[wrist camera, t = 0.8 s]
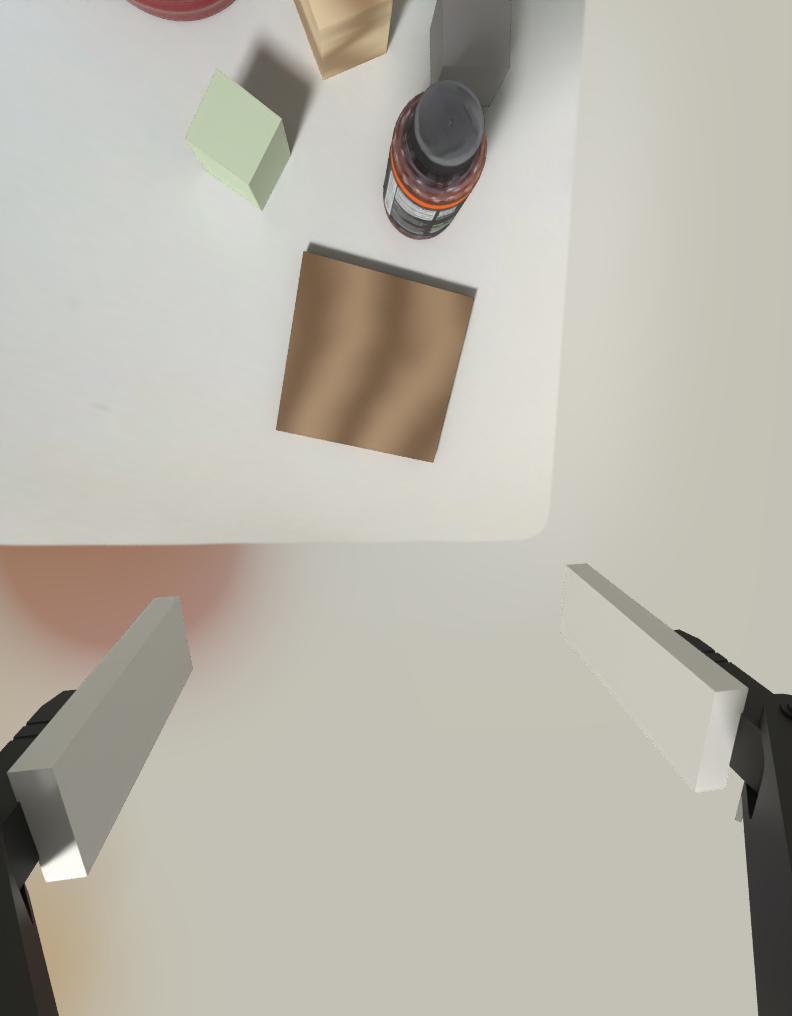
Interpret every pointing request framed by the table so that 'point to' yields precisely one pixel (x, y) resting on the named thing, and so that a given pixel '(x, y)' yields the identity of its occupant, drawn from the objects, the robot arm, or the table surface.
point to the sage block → (239, 140)
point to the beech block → (345, 31)
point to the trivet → (371, 358)
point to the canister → (181, 8)
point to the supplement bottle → (434, 159)
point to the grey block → (471, 44)
